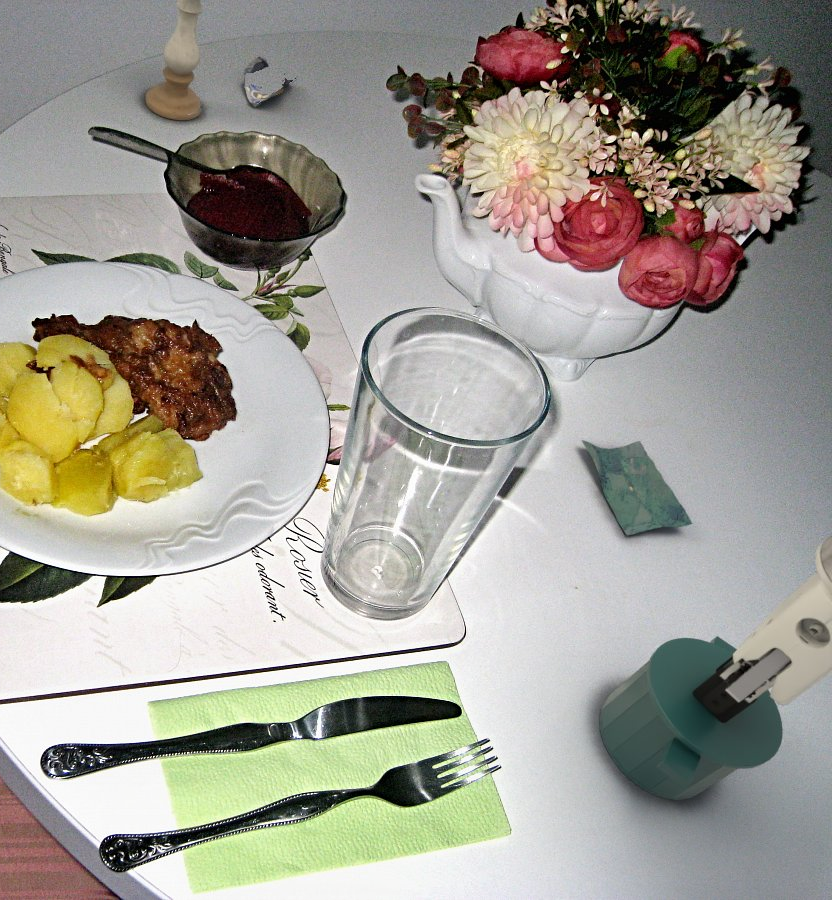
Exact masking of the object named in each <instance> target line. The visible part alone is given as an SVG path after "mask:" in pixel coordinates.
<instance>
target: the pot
mask: <svg viewBox="0 0 832 900" xmlns="http://www.w3.org/2000/svg"><path fill="white" fill-rule="evenodd" d="M709 642H710V643H712V644H715V645H717V646H719V647H721V648H723V649H725V650H727V651H728V652H730V653H732V654H734V652H735V651H736V650H737V649H738V648H736V647H734V645H731V644H730V643H728V642H727V641H725V640H724V639H722V638H721V637H720V636H719V635H717V636H715V637H714V638H712V640H710V641H709ZM648 663H649V660H648V661H646V663H645V664H643V665H642V666H640V668H639V669H637V670H636V671H635V672H634V673H633V674H632V675H631V676H629V677H628V678H627V679H626V680H625V681H624V682H623V683H621V684H620V685H619V686H618V687H617V688H615V689H614V690H613V691H612V692H611V693H610V694H609V696H608V697H607V698H606V700H605V701H604V702H603V704H602V707H601V709H600V714H599V730H600V735H601V739H602V741H603V745H604V747H605V749H606V751H607V753H608V755H609V756H610V758H611V760H612V761H613V762H614V764H615V765H616V767H617V768H618V769H619V770H620V772H622V773H623V774H624V776H626V777H627V778H628V779H629V780H630V781H631V782H632V783H634V785H636V786H637V787H639V788H641V789H642V790H643V791H646V792H648V793H649V794H651V795H653V796H656V797H659V798H663V799H667V800H676V801H677V800H678V801H681V800H687V799H690V798H693V797H696V796H697V795H699V794H700V793H702V792H704V791H705V790H707V789H708V788H710V787H711V786H714V785H715V784H716V783H718V782H720V781H721V780H724V779H725V778H726V777H727V776H729V775H731V774H733V773H734V772H737V770H738V769H736V768H730V767H726V766H722V765H719V764H717V763H714V762H712V761H710V760H708V759H706V758H704V757H702V756H700V755H699V754H697V753H696V752H694V751H693V750H691V749H690V748H689V747H688V746H686V745H685V744H684V743H683V742H682V741H681V740H680V739H678V738H677V737H676V736H675V735H674V733H673V732H672V731H671V730H670V729H669V728H668V726H667V725H666V724H665V723H664V721H663V720H662V718H661V717H660V715H659V714H658V712H657V710H656V708H655V706H654V704H653V702H652V699H651V697H650V694H649V690H648V686H647V666H648Z"/></svg>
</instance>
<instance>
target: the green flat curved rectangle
mask: <svg viewBox="0 0 832 900" xmlns="http://www.w3.org/2000/svg"><path fill="white" fill-rule="evenodd" d="M581 442H582V444H583V445H584V448H585V449H586V451H587V452H588V454H589V455H590V457H591V458H592V460H593V463H594V465H595V468H596V471H597V473H598V477H599V481H600V484H601V489H602V493H603V496H604V498H605V499H606V501H607V503H608V504H609V506H610V508H611V509H612V512H613V513H614V516H615V518H616V521H617V523H618V524H619V525H620V527H621V529H622V531H624V534H625V535H626V536H633V535H635V534H639V533H642V532H647V531H650V530H654V529H659V528H682V527H687V526H690V525H693V522H692V520H691V519H690V516H689V515H688V513H687V511H686V509H685V508H684V507H683V505H682V503H680V501H679V499H678V498H677V496H676V494H675V493H674V491H673V490H672V488H671V487H670V486H669V485H668V483H667V482H666V481H665V479H664V477H663V475H662V473H661V472H660V470H658V468H657V466H656V464H655V462H654V460H652V458H651V457H650V456H649V455H648V453H647V451H646V449H645V447H644V445H643V444H642V441H640V440H638V441H633V442H631V443H629V444H625V445H622V446H619V447H618V446H617V447H614V448H605V447H600V446H598V445H595V444H593V443H591V442H589V441H587V440H583V439H581Z"/></svg>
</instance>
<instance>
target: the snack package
mask: <svg viewBox="0 0 832 900" xmlns="http://www.w3.org/2000/svg"><path fill="white" fill-rule="evenodd" d="M248 64H249V65H248ZM248 64H247V66H246V67H245V69H244V73H245V74H246V73H254V72H256V71H259V70H262V69H266V68H269V69H271V67H269V63H268V61H267V58H266V57H264V56H263V57H261V56H260V55H259V56H257V57H256V58H255V59H253V60H252V61H250V62H248ZM285 74H286V73H284V75H285ZM295 79H296V78H295ZM284 80H285V82H284V84H282V86H283V87H282V88H281V89H279V90H278V91H276V92H273V93H272V94H271V95H270V94H269V95H268V91H267V92H266V91H265V92H264V89H263V90H262V87H260V88H259V87H257V86H254V85H252V84H251V86H250V85H249V87H245V86H244V90H245V92H246V97H247V99H248V102H249V103H250V104H251V105H252V106H253V108H254V109H255V108H257V107H258V106H259V105H260V104H262V103H260V104H257V103H259V102H260V100H261V99H265V100H263V102H265V101H267V100H269V99H271V98H270V97H271V96H275V95H277V96H279V95H281V94H283V92H284V91H285V90H286V89H287V88H288V87H290V85H289V83H290V82H292V81H293V80H287V79H286V78H285V79H284ZM284 80H282V82H283V81H284ZM296 80H297V79H296ZM292 83H293V82H292ZM290 84H291V83H290ZM285 88H286V89H285ZM284 89H285V90H284ZM280 93H281V94H280ZM278 94H279V95H278ZM275 97H276V96H275ZM268 98H269V99H268ZM254 102H255V103H254Z"/></svg>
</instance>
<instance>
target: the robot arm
mask: <svg viewBox="0 0 832 900" xmlns="http://www.w3.org/2000/svg"><path fill="white" fill-rule="evenodd" d="M814 554H815V555H814V563H815V568H816V571H817V572H815V573H814V574H813V575H811V577H809V578H808V579H807V580H805V581H804V582H803V583H802V584H801V585H799V586H798V588H796V589H795V590H794V591H793V592H791V594H789V595H788V596H787V597H786V598H785V599H784V600H783V601H782V602H781V603H780V604H778V606H777V607H776V608H774V609H773V610H772V611H771V612H770V613H769V615H768V616H767V617H766V618H765V619H764V620H763V621H762V622H761V623H760V624H759V625H758V626H757V627H756V628H755V629H754V631H752V632H751V633H750V634H749V635H748V636H747V638H746V639H745V640H744V641H743V642H742V643H741V644H740V646H738V648H736V649H737V650H736V651H735V652H734V654H733V656H732V657H730V658H729V659H728V660H727V661H725V662H724V663H723V664H722V665H720V666H719V667H718V668H717V669H716V673H715V674H713V675H712V676H711V677H710V678H708V679H707V680H706V681H705V682H703V683H702V684H701V685H699V686H698V687H697V688H696V689H695V690H694V691H693V692H692V693H693V696H694V697H695V698H696V699H697V700H698V701H699V702H700V703H701V704H702V705H703V706H704V707H705V708H706V709H707V710H708V711H709V712H710V713H711V714H712V715H714V716H715V717H716V718H717V719H718V720H719V721H720V722H722V723H726V722H727V721H729V720H730V719H732V718H733V717H735V716H736V715H737V714H739V713H740V712H742V711H743V710H744V709H746V708H747V707H749V706H750V705H751V704H753V703H754V702H755V701H756V700H757V699H756V698H757V697H759V696H760V695H761V694H763V693H764V692H765V691H767V690H769V689H771V690H770V697H771V698H772V699H773V700H774V701H775V703H776V705H777V706H788V705H790V704H791V703H792V702H794V701H795V700H796V699H797V698H799V697H800V696H802V695H803V694H804V693H806V692H807V691H808V690H809V689H811V688H812V687H814V686H815V685H816V684H817V683H819V682H820V681H822V680H823V679H825V678H826V677H827V676H829V675H830V674H832V534H831V535H830V536H829V537H827V538H826V539H825V540H824V541H822V542H821V543H820V544H819V545H818V547H817V548H816V550H815V553H814ZM731 660H733V661H734V663H733V664H732V665H731V666H730V667H728V668H727V669H725V668H724V666H725V665H726V664H728V663H729V662H730V661H731ZM743 666H745V667H746V668H747V669H749V670H747V671H746V672H745V673H744V674H743V675H742V674H741V673H740V672H737V671H738V670H739V669H741V668H742V667H743Z"/></svg>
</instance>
